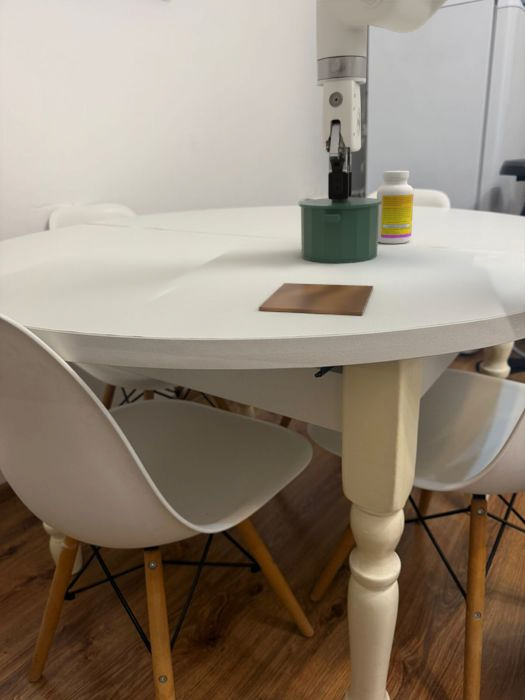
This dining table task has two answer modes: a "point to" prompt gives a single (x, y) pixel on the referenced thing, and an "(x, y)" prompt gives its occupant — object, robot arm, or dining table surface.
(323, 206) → the pot lid
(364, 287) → the plate
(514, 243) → the dining table surface
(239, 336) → the dining table surface
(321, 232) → the pot
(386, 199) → the supplement bottle
